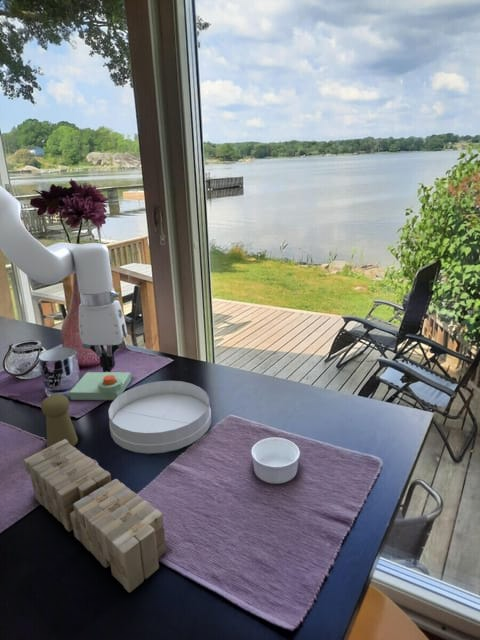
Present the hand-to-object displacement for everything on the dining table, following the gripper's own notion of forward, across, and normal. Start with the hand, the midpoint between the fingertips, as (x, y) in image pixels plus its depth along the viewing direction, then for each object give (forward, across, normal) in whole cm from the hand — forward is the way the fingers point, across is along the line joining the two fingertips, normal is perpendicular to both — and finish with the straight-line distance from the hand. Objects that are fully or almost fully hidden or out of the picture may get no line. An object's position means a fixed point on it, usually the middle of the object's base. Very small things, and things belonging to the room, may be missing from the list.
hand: (108, 369), depth 108 cm
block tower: (+8, -11, +41) cm, 43 cm away
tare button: (+4, 0, 0) cm, 4 cm away
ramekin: (+8, -40, +27) cm, 49 cm away
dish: (+8, -15, +12) cm, 21 cm away
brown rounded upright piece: (+8, +4, +20) cm, 22 cm away
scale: (+7, +4, -3) cm, 9 cm away
